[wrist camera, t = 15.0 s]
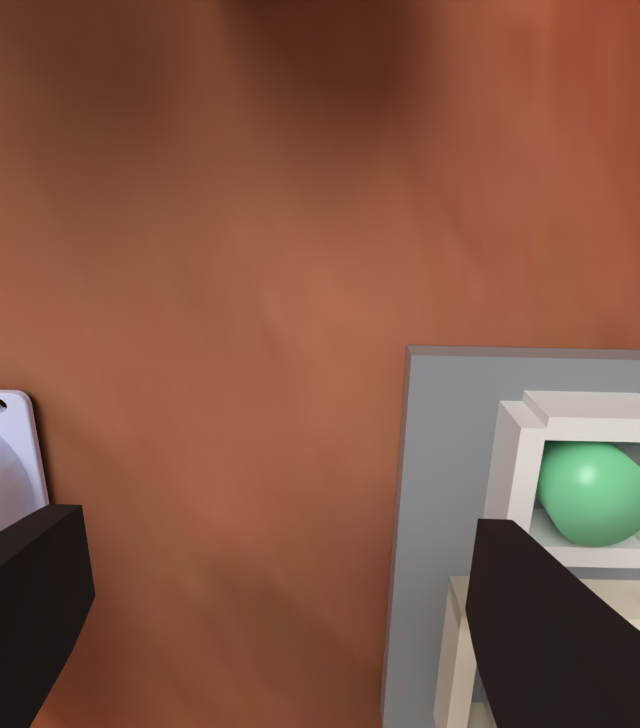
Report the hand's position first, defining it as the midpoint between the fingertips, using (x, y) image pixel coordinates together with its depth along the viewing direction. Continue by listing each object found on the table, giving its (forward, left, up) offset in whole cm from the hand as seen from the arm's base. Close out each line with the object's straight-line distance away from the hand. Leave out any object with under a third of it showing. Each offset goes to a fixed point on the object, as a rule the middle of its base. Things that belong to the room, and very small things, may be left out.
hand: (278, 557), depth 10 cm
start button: (+10, -3, -9) cm, 14 cm away
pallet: (+10, -8, -10) cm, 16 cm away
